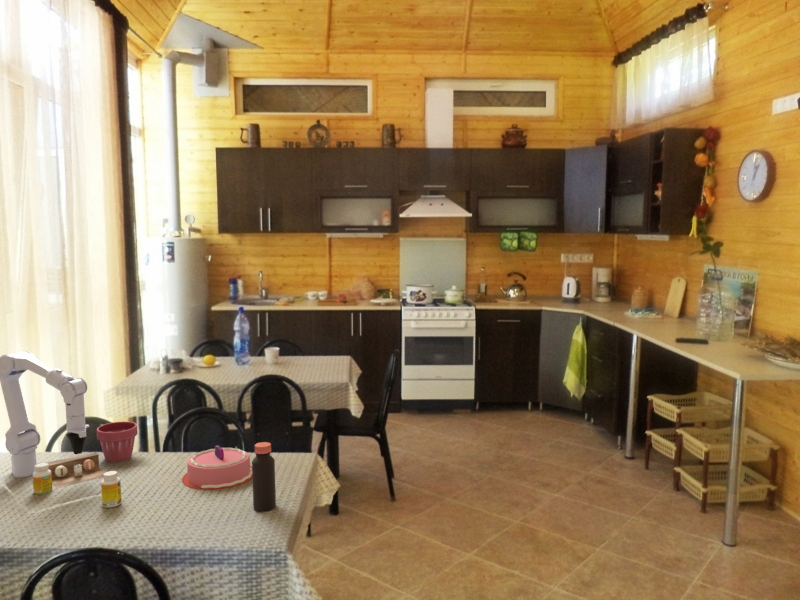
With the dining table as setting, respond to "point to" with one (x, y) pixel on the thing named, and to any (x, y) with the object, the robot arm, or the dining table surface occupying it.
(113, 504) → the supplement bottle
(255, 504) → the vinegar
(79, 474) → the pot dial
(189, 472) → the cake
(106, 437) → the plant pot
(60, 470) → the knob ivory
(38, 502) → the dining table surface
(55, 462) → the mount
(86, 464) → the knob terracotta
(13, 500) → the dining table surface
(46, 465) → the supplement bottle
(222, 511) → the dining table surface
